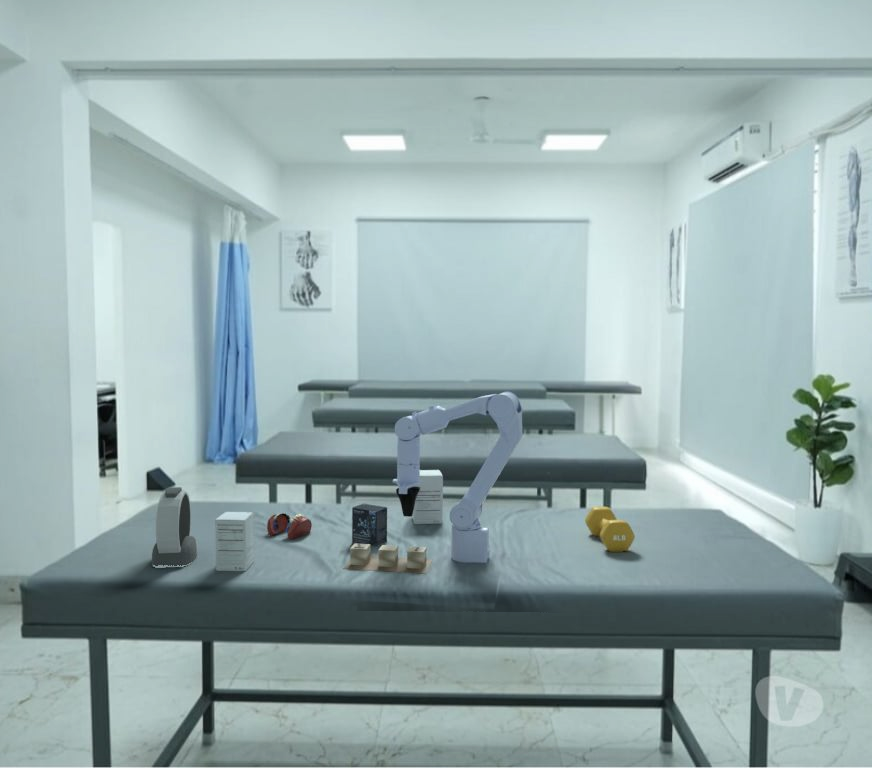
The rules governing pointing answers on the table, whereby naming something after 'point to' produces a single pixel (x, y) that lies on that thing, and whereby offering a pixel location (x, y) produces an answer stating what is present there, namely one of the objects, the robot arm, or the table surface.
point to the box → (369, 524)
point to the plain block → (388, 555)
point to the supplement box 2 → (429, 498)
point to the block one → (416, 557)
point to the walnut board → (399, 567)
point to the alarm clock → (174, 530)
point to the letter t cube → (360, 554)
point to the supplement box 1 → (234, 541)
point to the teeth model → (289, 525)
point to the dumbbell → (610, 529)
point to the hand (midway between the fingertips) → (407, 515)
